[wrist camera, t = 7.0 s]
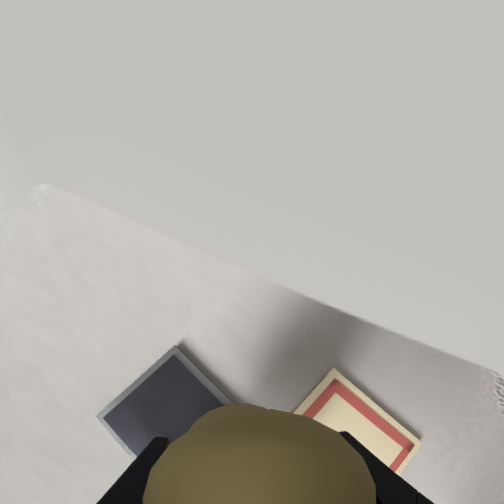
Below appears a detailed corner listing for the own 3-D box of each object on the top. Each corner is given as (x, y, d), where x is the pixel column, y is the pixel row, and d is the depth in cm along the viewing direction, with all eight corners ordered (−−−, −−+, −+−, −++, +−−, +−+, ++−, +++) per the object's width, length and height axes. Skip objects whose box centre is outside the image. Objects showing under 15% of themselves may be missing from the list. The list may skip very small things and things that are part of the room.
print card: (419, 442, 18) (423, 442, 18) (334, 540, 15) (337, 542, 14) (331, 368, 21) (334, 367, 20) (233, 469, 17) (233, 471, 17)
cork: (323, 449, 14) (464, 477, 4) (246, 528, 11) (280, 657, 2) (235, 380, 15) (254, 318, 6) (156, 457, 13) (47, 514, 3)
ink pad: (259, 426, 19) (260, 427, 18) (177, 498, 16) (175, 502, 15) (176, 346, 21) (174, 343, 20) (99, 415, 18) (93, 416, 17)
